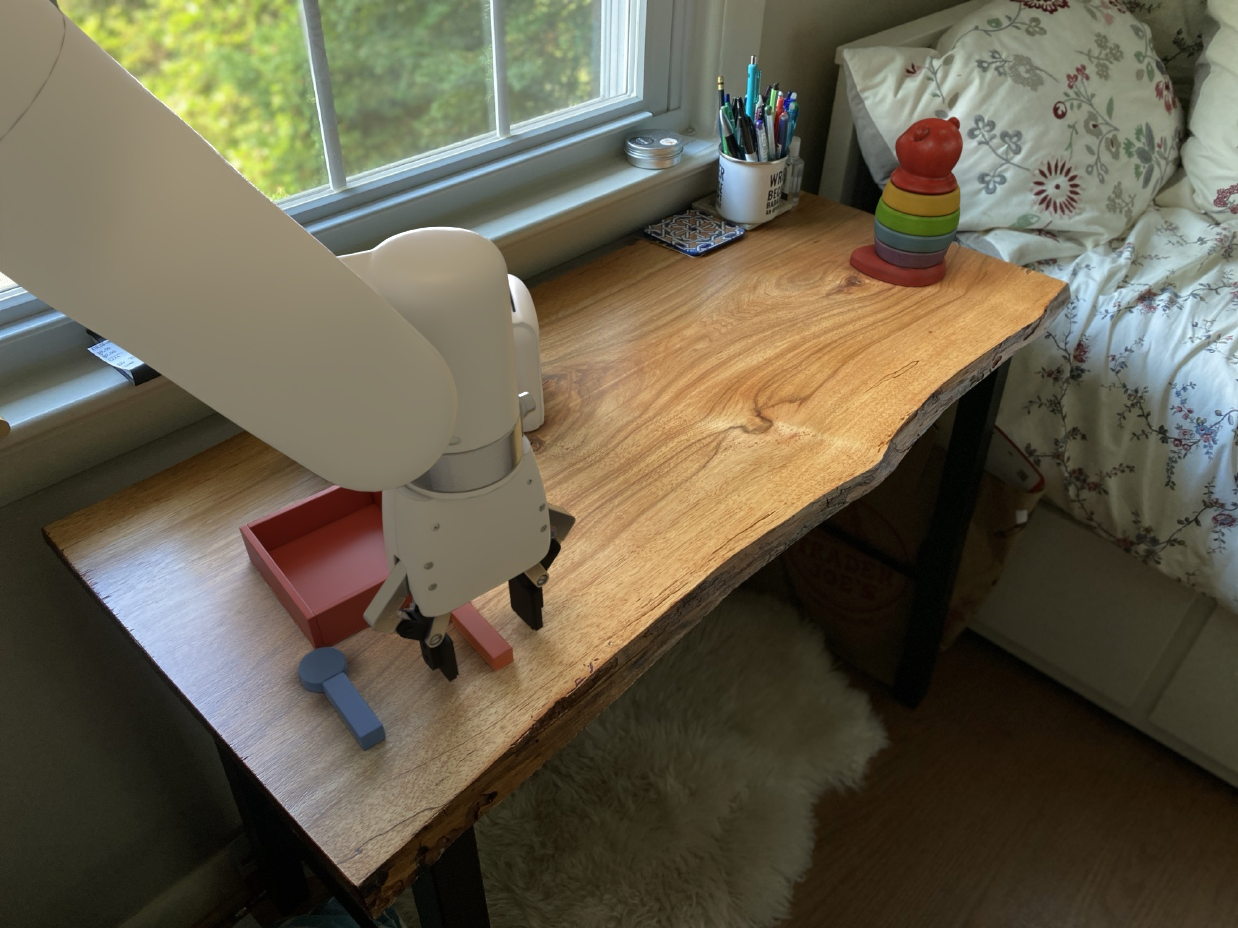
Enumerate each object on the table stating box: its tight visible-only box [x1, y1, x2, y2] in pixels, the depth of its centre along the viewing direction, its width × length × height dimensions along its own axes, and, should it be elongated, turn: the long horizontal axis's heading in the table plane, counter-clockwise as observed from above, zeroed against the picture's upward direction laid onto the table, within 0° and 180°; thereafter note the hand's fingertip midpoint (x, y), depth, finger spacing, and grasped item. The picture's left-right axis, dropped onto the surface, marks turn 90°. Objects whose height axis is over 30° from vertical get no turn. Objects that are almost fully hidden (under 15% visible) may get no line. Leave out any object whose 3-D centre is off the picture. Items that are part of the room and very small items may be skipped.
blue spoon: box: [297, 646, 387, 751], centre depth 62 cm, size 9×3×1 cm, turn 39°
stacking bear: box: [849, 116, 964, 287], centre depth 107 cm, size 11×10×18 cm
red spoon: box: [449, 601, 515, 672], centre depth 67 cm, size 9×3×1 cm, turn 39°
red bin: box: [238, 484, 413, 650], centre depth 71 cm, size 11×12×4 cm
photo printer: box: [508, 273, 545, 433], centre depth 86 cm, size 10×4×12 cm, turn 13°
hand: (486, 640), depth 66 cm, fingers open, 6 cm apart
